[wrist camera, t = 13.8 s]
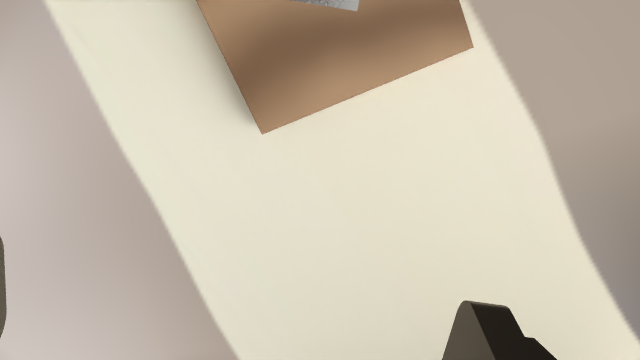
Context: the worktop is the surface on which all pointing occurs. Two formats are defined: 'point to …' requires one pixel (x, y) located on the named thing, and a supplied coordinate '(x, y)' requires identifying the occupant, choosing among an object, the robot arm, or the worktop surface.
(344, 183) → the worktop surface
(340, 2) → the hollow metal block
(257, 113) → the walnut base
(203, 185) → the worktop surface
